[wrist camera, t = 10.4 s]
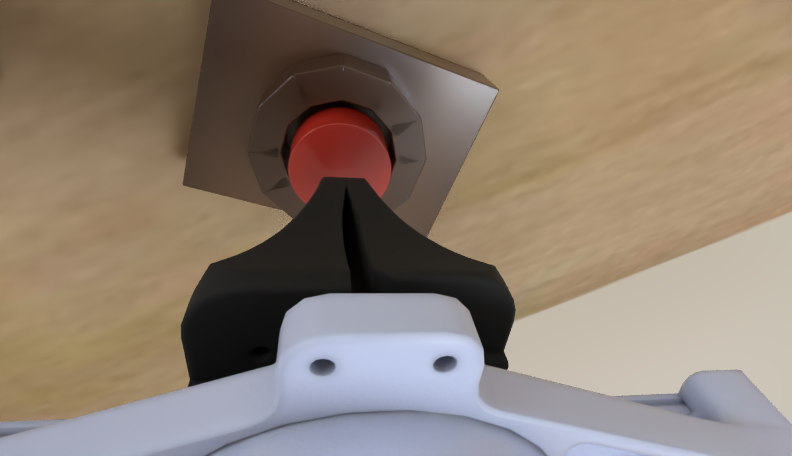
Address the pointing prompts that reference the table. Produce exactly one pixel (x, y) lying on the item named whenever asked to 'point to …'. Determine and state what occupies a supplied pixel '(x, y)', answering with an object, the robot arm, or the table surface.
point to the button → (338, 151)
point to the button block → (325, 105)
